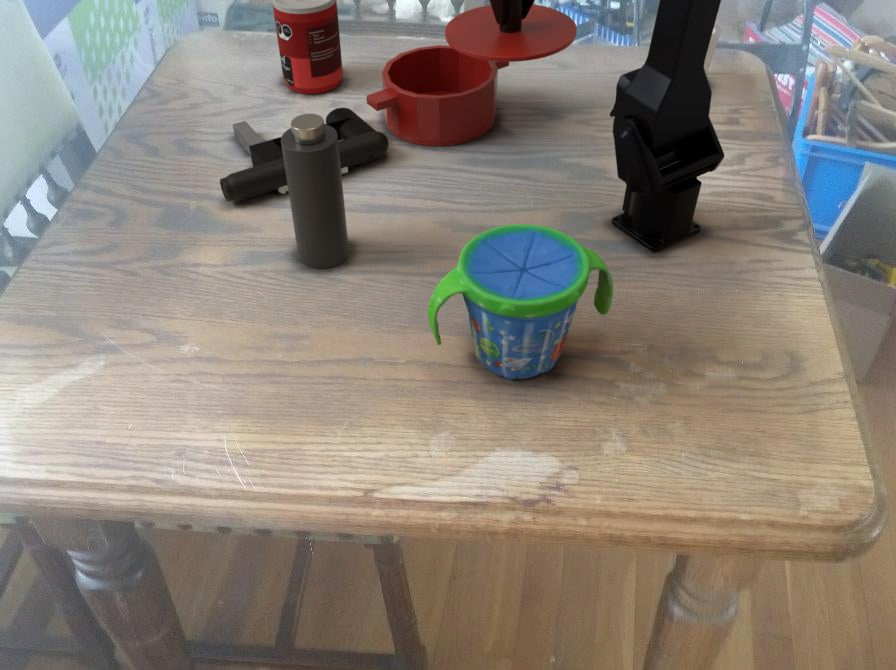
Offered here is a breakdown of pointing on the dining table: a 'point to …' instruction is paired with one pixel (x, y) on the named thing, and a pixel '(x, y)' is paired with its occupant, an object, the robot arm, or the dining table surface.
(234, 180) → the door handle
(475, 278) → the snack cup
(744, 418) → the dining table surface
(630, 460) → the dining table surface
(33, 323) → the dining table surface
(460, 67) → the pot
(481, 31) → the lid
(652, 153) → the robot arm
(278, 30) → the red can
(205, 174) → the dining table surface
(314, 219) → the pepper mill
